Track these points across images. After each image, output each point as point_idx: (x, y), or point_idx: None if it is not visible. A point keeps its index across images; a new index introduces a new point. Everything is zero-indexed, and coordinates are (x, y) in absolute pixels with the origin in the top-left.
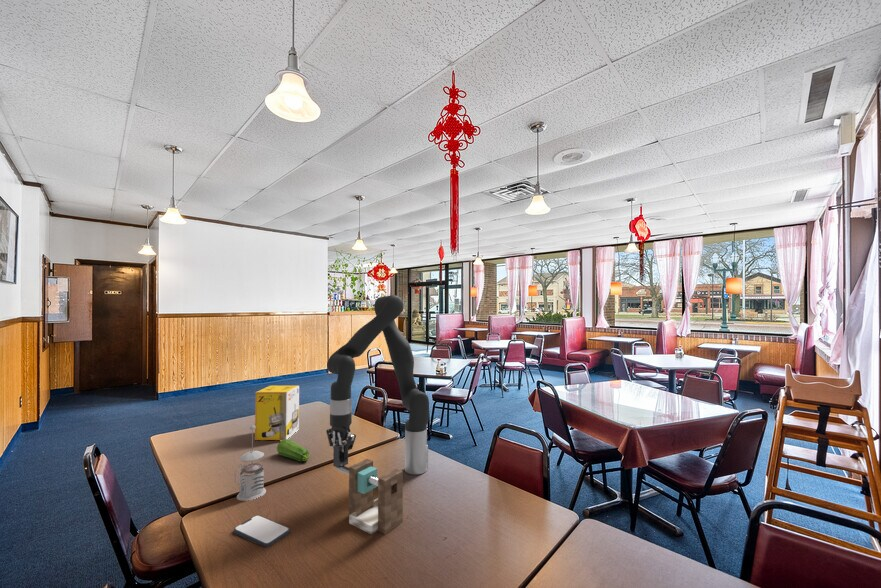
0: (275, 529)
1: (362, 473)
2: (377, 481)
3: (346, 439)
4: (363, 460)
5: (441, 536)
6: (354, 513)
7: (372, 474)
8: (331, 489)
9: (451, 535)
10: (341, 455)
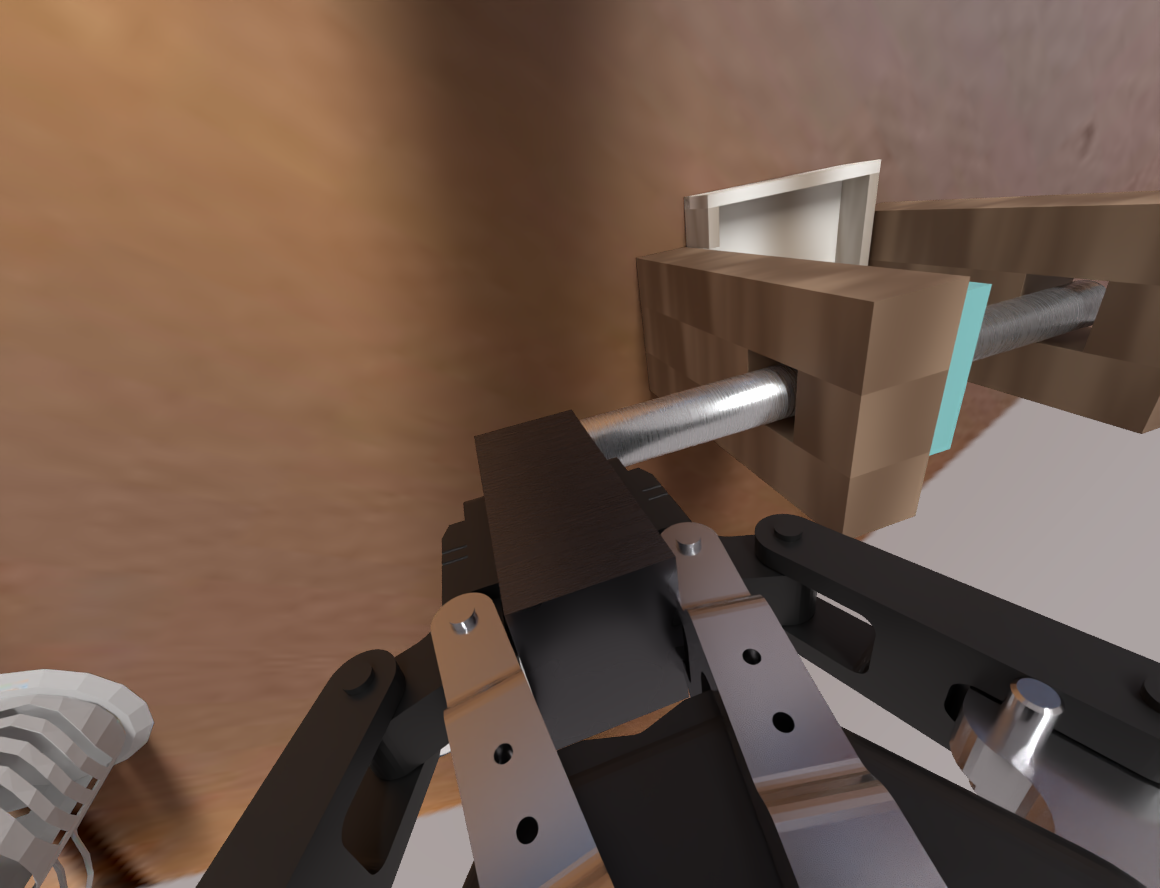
0: None
1: None
2: (997, 353)
3: (742, 680)
4: (868, 366)
5: (1071, 140)
6: None
7: None
8: (270, 340)
9: (1109, 96)
10: None
